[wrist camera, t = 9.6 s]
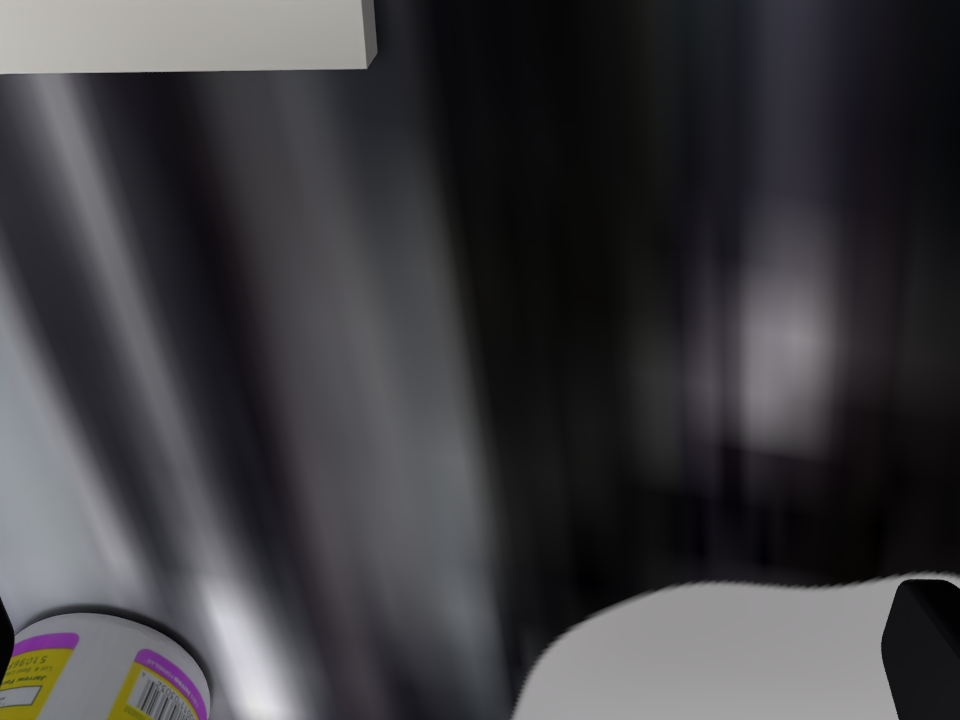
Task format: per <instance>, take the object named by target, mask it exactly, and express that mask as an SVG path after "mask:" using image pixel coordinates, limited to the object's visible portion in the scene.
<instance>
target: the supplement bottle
mask: <svg viewBox="0 0 960 720" xmlns="http://www.w3.org/2000/svg"><path fill="white" fill-rule="evenodd" d="M209 712H210V693H209V689H208V685H207V682H206V679H205V677H204V675H203V672H202V671H201V669H200V668H199V666H198V665H197V663H196V662H195V661H194V659H193V658H192V657H191V656H190V655H189V654H188V653H187V652H186V651H185V650H184V649H183V648H182V647H181V646H180V645H178V644H177V643H176V642H174V641H173V640H172V639H170V638H169V637H167V636H165V635H164V634H162V633H160V632H158V631H156V630H154V629H152V628H150V627H147V626H145V625H142V624H139V623H136V622H134V621H130V620H127V619H124V618H120V617H115V616H110V615H104V614H95V613H71V614H64V615H58V616H54V617H50V618H47V619H44V620H41V621H38V622H36V623H34V624H32V625H30V626H28V627H27V628H25V629H23V630H22V631H21V632H19V633H18V634H17V635H16V636H15V644H14V650H13V654H12V657H11V660H10V663H9V665H8V668H7V671H6V674H5V676H4V679H3V682H2V684H1V687H0V720H208V717H209Z"/></svg>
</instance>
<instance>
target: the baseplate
mask: <svg viewBox="0 0 960 720" xmlns="http://www.w3.org/2000/svg"><path fill="white" fill-rule="evenodd" d="M376 54H377V40H376V27H375V14H374V1H373V0H0V74H31V73H103V72H176V71H249V70H322V69H367V68H368V66H369V65H370V63H371V62H372V60H373V59H374V57H375V56H376Z"/></svg>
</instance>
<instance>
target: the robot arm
mask: <svg viewBox="0 0 960 720" xmlns="http://www.w3.org/2000/svg"><path fill="white" fill-rule="evenodd" d="M14 644H15V636H14V629H13V626H12V624H11V621H10V619H9V617H8V614H7V612H6V610H5V607H4V605H3V602H2V600H1V598H0V687H1V684H2V682H3V679H4V676H5V674H6V671H7V668H8V665H9V663H10V660H11V657H12V654H13V650H14ZM881 652H882V660H883V664H884V668H885V672H886V675H887V679H888V682H889V686H890V689H891V693H892V697H893V700H894V703H895V707H896V711H897V714H898V718H899V720H960V589H959V588H958V587H957V586H955V585H954V584H952V583H950V582H948V581H945V580H930V579H926V580H925V579H909V580H905V581H903V582H902V583H901V584H900V585H899V586H898V589H897V591H896V594H895V597H894V600H893V604H892V607H891V610H890V613H889V616H888V620H887V623H886V626H885V629H884V632H883V636H882V642H881Z"/></svg>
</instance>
